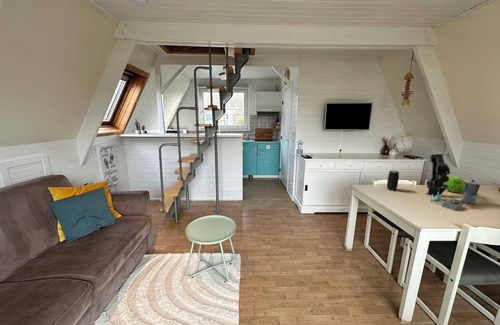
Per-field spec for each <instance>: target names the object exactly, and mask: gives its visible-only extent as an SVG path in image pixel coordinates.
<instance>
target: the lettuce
mask: <svg viewBox="0 0 500 325" xmlns="http://www.w3.org/2000/svg"><path fill="white" fill-rule="evenodd" d="M448 177H449V181H448V182H444V184H447V185H448V188H447V189H446V190H447V191H449V192H451V193H458V192H463V191H465V182H466V181H465V180H464V179H463V178H461V177H459V176H448Z"/></svg>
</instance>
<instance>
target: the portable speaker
mask: <svg viewBox="0 0 500 325" xmlns="http://www.w3.org/2000/svg"><path fill="white" fill-rule="evenodd" d="M399 175H400V172H399V171H397V170H389V173H388V177H387V181H386V188H387V190H388V191H397V189H398V185H399V177H400V176H399Z"/></svg>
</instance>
